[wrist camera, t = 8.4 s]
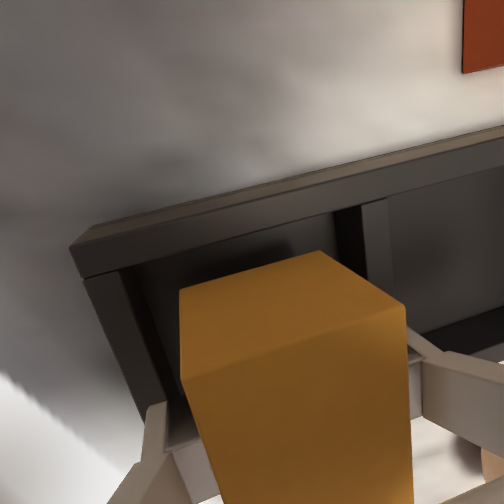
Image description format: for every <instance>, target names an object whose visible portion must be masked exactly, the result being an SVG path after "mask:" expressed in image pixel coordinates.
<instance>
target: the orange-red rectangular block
mask: <svg viewBox="0 0 504 504" xmlns="http://www.w3.org/2000/svg"><path fill="white" fill-rule="evenodd" d="M500 66H504V0H465V8H464V54H463V73H465V74H467V73H471V72H476V71H481V70H486V69H490V68H495V67H500Z"/></svg>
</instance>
